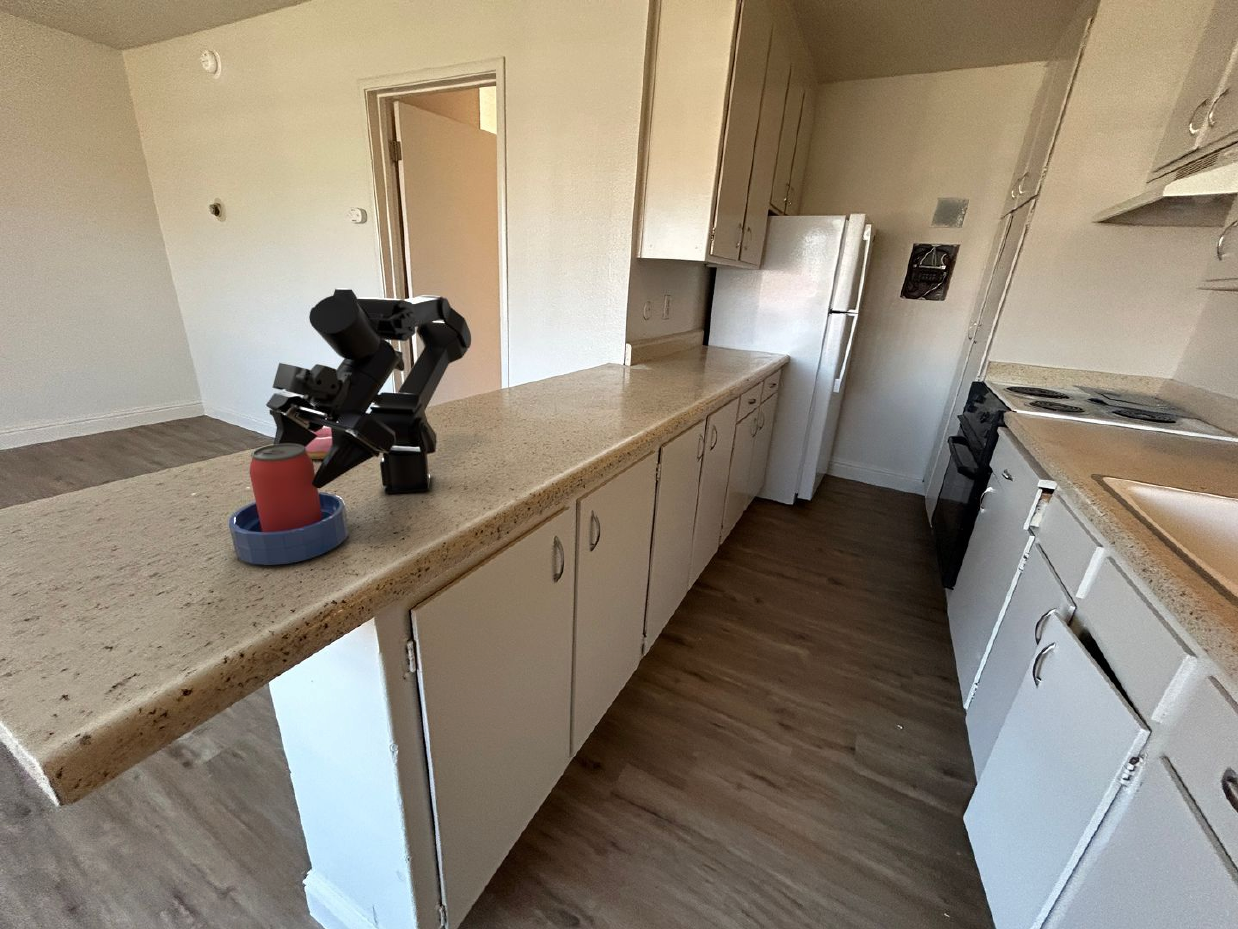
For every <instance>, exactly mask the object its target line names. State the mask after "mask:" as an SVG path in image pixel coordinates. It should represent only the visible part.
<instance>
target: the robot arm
mask: <svg viewBox="0 0 1238 929" xmlns="http://www.w3.org/2000/svg"><path fill="white" fill-rule="evenodd" d="M308 319H309V323H310V325H311V327H312V328H313V329H314V330H315V331H316V332H317V334H318V335H319V336H320V337H321V338H322V339H323V340H324V341H325V342H326V343H327V344H328V345H329V347H330V348H331V349H332V350H333V351H334V352H335V353H336V355H338V356H339V357H341V358H342V359H343V360H342V361H341V362H340V363H339V365H338V366H337V368H334V367H331V366H328V365H324V364H319V363H317V364H314V365H313V366H312V368H311V369H309V368H304V367H300V366H297V365H292V364H287V363H283V362H279V363H278V366H277V369H276V372H275V376H274V380H273V383H272V389H276V390H278V391H279V390H280V391H281V392H276V393H273V394H272V395H271V397H270V399H269V400H268V401H267V403H266V404H265V406H266V407H267V408H268V409H269V415H270V416H272V418H273V420H274V423H275V427H276V429H275V435H274V440H273V444H272V445H274V444H285V443H293V444H300V445H303V446H304V447H306V446H307V445H308V444H309V443H311V442H312V441H313V440H314V439H315V438H316V437H317V435H316V434H314V433H313V432H317V431H318V430H320V429H322V428H323V427H330V428H331V434H332V446H331V447H330V449H329V451H328V453H327V455H326V456H325V458H324V459H322V461H321V463H320V465H319V467H318V469H317V470H316V472H315V477H314V479H313V481H312V486H314V487H316V488H318V490H319V489H322V488H323V487H325V486H327V485H328V484H330V483H331V482H333V481H335V480H336V479H338V478H339V477H340V476H343V475H344V474H345V473H347V472H349V471H350V470H353V469H354V468H356V467H358V466H359V465H361V464H363V463H364V462H367V461H368V460H370V459H372V458H374V457H375V458H379V457H380V455H381V454H382V458H381V460H380V462H379V466H380V475H381V476H380V477H381V483H382V486H383V487H385V488H384V494H388V495H390V494H405V493H406V494H408V493H421V492H422V493H425V492H428V491H429V489H430V483H431V477H432V476H431V474H430V473H429V461H428V455H430V454H434V453H436V448H437V444H438V440H437V433H436V432H435V430H434V429H433V428H432V426H431V425H430V423H429V421H428V417H427V415H426V414H427V413H426V410H427V408H428V406H429V404H430V402H431V399H432V398H433V396H434V394H435V392H436V390H437V388H438V386H439V385H440V382H441V381H442V378H443V376H444V375H445V372H446V370H447V368H448V367H449V365H450V364H451V363H454V362H456V361H458V360H461V359H462V358H463V357H464V356H465V355H466V353H467V352H468V350H469V349H470V348H471V345H472V333H471V331H470V327H469V325H468V323H467V320H466V318H465V317H464V316H462V315H461V314H460V313H459V312H458V311H456V309H454V308H452V306H451V304H450V302H449V300H448V298H446V297H443V296H441V295H427V294H425V295H424V294H421V295H419V296H418V295H417V296H416V297H411V298H406V299H399V298H383V297H382V298H381V297H380V298H379V297H366V296H365V297H363V296H360V297H357V295H356V293H355V292H354V290H353V289H350V288H349V289H348V288H335V289H334V292H333V295H330V296H326V297H324V298H323V299H321V300H319V301H318V302H317V304H315V305H314V306H313V307H312V308H311V309H310V311H309V315H308ZM416 333H417V335H418V337H419V339H420V340H421V342H422V346H423V348H422V351H421V352H420V354H419V355H418V357H417V358H416V360H415V363H414V364H413V365H412V367H411V369H410V371H409V372H408V374H407V376H406V377H405V379H404V381H403V383H402V384H401V386H400V387H399V390H398V391H397V392H392V391H391V392H390V391H382V392H381V393H380V391H381V390H382V388H383V387H384V385H385V384H386V382H387V381H388V379H389V378H390V376H391V374H392V373H393V371H394V370H397V371H399V372H403V371H405V362H404V359H403V355H404V354H403V351H401V350H398V349H396V348H394V346H393V345H392V343H391V342H389V341H396V342H406V341H408V340H409V339H411V338H412V337H413V336H414V335H415V334H416ZM283 390H285V391H283ZM368 410H371V411H370V412H368ZM311 431H313V432H311Z"/></svg>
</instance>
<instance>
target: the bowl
mask: <svg viewBox="0 0 1238 929" xmlns="http://www.w3.org/2000/svg"><path fill="white" fill-rule="evenodd" d="M318 494H319V500H320V506H321V512H322V518H323V520H322V521H320V522H318V523H315V524H312V525H308V526H305V527H302V528H297V529H292V530H287V531H279V532H262V528H261V523H260V519H259V514H258V510H257V505H256V501H253V502H251V503H248V504H246V505H245V506H243V507H241V508H240V509H238V510H236V511H234V513H233V514H232V515H231V516H230V517H229V518H228V527H229V531H230V532H229V533H230V536H231V539H232V540H231V541H232V544H233V548H234V552H235V555H236V556H237V557H238V558H239V560H241V561H243V562H246V563H249V564H253V565H264V566H265V565H267V566H273V565H285V564H293V563H298V562H302V561H306V560H309V559H313V558H315V557H318V556H320V555H323V554H325V553H327V552H329V551H331V550H333V549H335V548H336V547H338V546H340V545H341V544H342V543H343V542H344V541H345V540H346V539H347V537H348V534H349V532H350V530H349V529H350V528H349V522H348V515H347V509H346V504H345V501H344V499H343V498H341V497H340V496H339V495H337V494H335V493H334V494H333V493H330V492H326V491H325V492H324V491H318Z"/></svg>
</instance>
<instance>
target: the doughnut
mask: <svg viewBox="0 0 1238 929" xmlns="http://www.w3.org/2000/svg"><path fill="white" fill-rule="evenodd" d="M311 432H313V431H311ZM313 433H314V434H316V435H317V437H316V438H315V439H314V440H313V441H312V442H311V443H309V444H308V445H307V446H306V451H307V453H308V454H309V456H310V457H311V459H312V460H324V458H325V456H326V455H327V453H328V451H329V449H330V447H331V446H332V434H331V428H330V427H326V426H323V428H322V429H320V430H318V431H317V432H313Z"/></svg>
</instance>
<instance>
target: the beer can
mask: <svg viewBox="0 0 1238 929" xmlns="http://www.w3.org/2000/svg"><path fill="white" fill-rule="evenodd" d="M250 456H251V457H252V458H251V461H250V465H249V477H250V482H251V487H252V491H253V496H254V500H255V502H256V505H257V510H258V514H259V519H260V523H261V528H262V532H279V531H287V530H292V529H297V528H302V527H305V526H308V525H312V524H315V523H318V522H320V521H322V520H323V518H322V512H321V506H320V500H319V494H318V492H319V489H318V488H316V487H314V486H312V481H313V479H314V477H315V475H316V472H315V471H316V470H315V465H314V462H313V459H311V457H310V456H309V454H308V453H307V451H306V447H304V446H303V445H300V444H293V443H285V444H274V445H273V444H269V445H265V446H262V447H258V448H256V449H254V450H253V451H252V452H251V454H250Z"/></svg>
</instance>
